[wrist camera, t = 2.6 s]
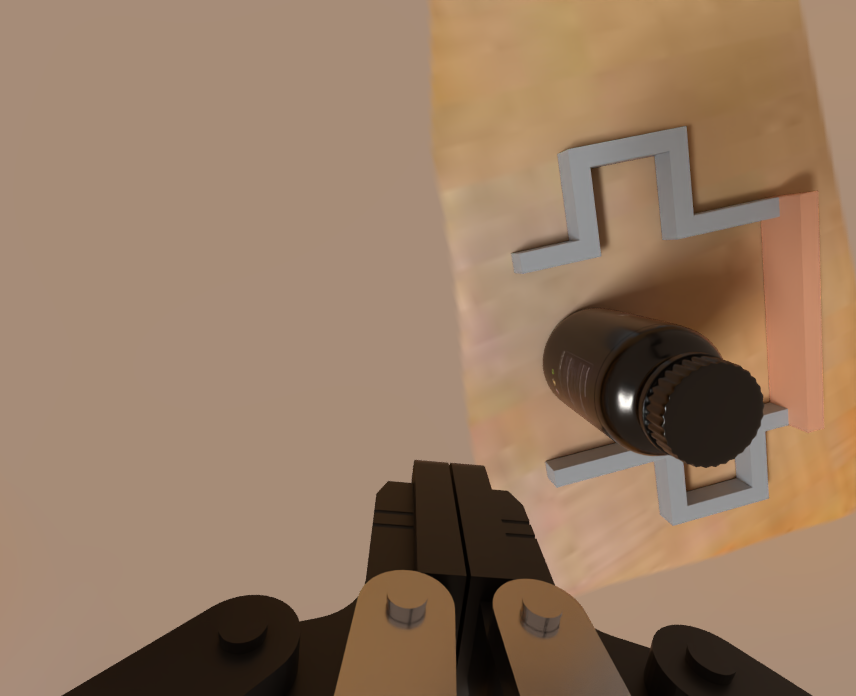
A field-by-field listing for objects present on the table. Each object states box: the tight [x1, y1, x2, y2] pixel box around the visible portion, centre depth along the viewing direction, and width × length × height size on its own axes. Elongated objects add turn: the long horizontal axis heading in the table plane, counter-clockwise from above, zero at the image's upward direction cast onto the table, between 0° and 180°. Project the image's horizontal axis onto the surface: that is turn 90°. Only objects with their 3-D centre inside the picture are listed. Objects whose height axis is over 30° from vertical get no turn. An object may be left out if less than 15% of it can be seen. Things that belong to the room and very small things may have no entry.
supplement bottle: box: [543, 308, 764, 468], centre depth 27 cm, size 7×7×12 cm
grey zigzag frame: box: [511, 126, 824, 526], centre depth 32 cm, size 26×18×3 cm
